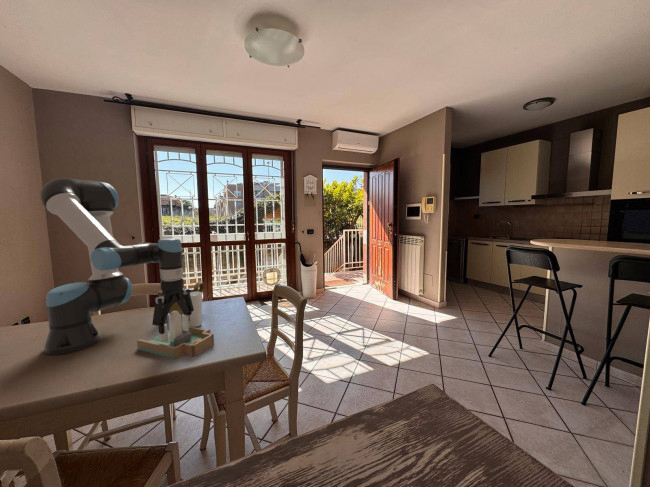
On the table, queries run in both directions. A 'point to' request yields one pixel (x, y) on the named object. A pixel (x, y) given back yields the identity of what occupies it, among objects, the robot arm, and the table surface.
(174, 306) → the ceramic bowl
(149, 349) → the pitch
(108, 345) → the table surface
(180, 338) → the striker
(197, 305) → the drinking glass
